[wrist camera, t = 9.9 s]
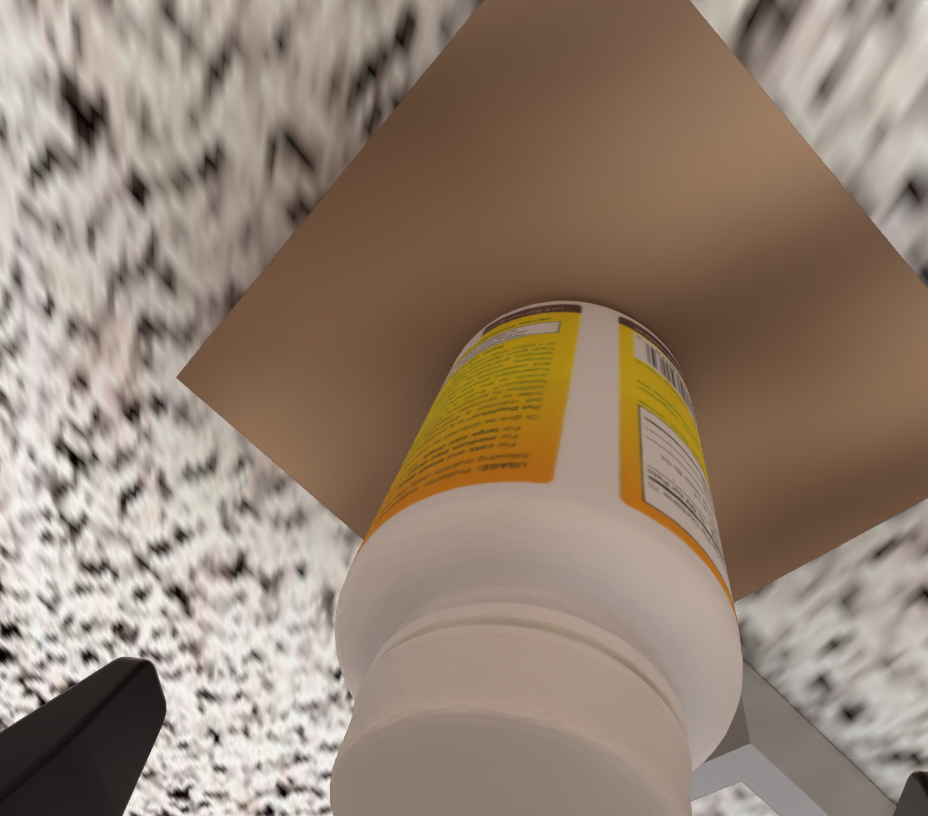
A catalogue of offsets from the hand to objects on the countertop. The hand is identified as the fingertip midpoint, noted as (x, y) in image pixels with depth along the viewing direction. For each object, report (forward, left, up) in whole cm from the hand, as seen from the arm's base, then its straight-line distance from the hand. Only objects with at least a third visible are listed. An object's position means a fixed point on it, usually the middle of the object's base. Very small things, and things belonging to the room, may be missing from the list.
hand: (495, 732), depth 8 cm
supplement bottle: (0, 0, -9) cm, 9 cm away
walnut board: (0, 0, -10) cm, 10 cm away
